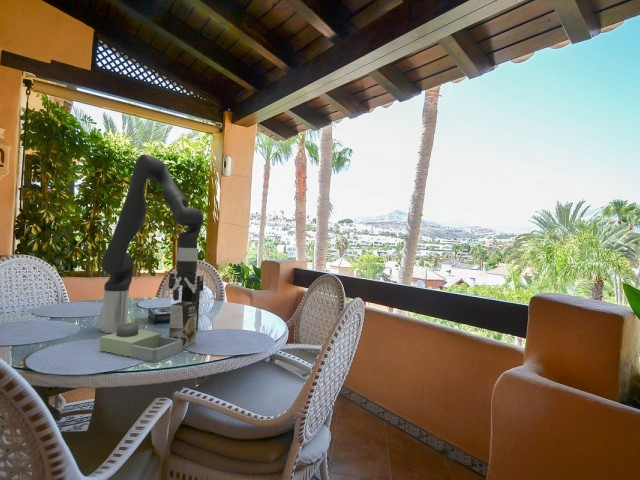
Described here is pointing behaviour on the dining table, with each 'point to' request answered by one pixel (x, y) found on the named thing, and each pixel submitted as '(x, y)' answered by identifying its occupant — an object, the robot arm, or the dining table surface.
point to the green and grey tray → (140, 343)
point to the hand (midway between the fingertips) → (185, 301)
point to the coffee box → (183, 322)
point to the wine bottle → (190, 299)
